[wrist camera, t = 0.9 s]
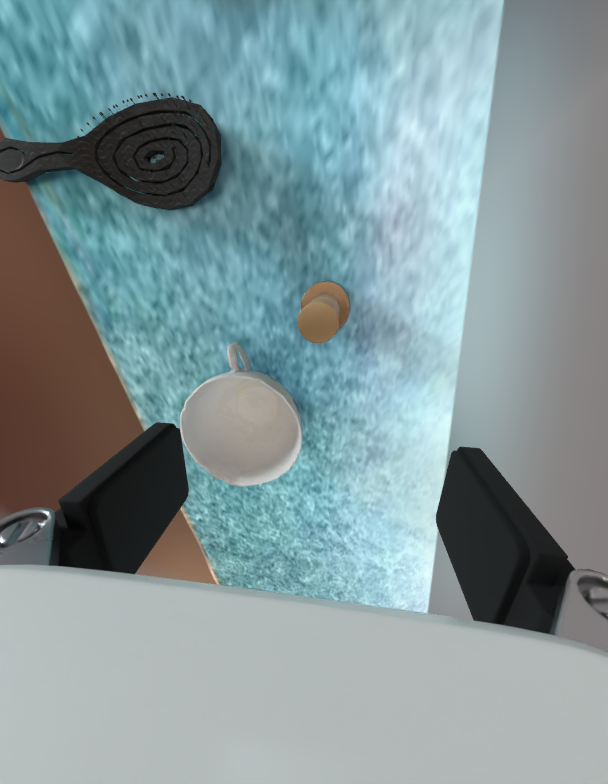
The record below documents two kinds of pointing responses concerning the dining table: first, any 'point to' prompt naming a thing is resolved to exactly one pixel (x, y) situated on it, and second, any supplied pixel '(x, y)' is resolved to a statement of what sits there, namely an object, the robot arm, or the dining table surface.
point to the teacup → (242, 425)
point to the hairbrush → (132, 153)
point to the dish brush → (323, 311)
